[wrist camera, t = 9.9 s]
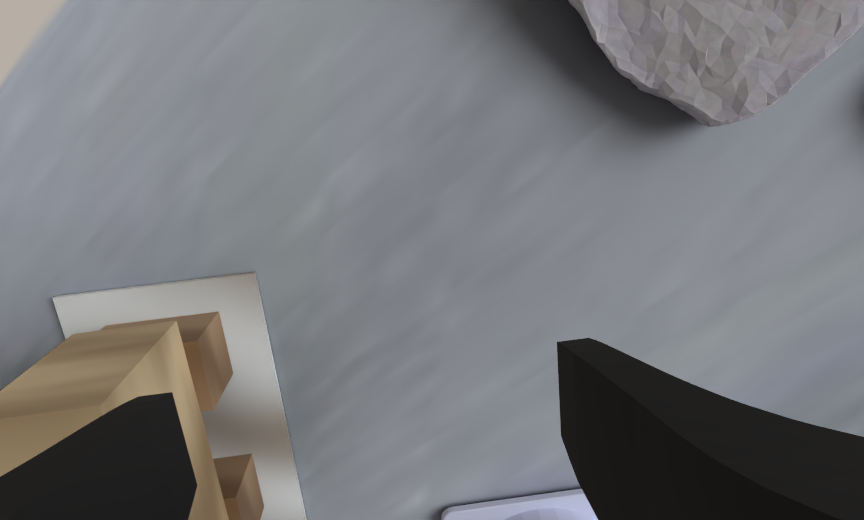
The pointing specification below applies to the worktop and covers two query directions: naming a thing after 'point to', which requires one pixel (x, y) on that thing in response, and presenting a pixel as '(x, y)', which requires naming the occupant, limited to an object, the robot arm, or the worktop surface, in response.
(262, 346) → the base with blocks
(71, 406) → the lintel
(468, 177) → the worktop surface
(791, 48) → the stone block
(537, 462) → the worktop surface
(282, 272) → the worktop surface
